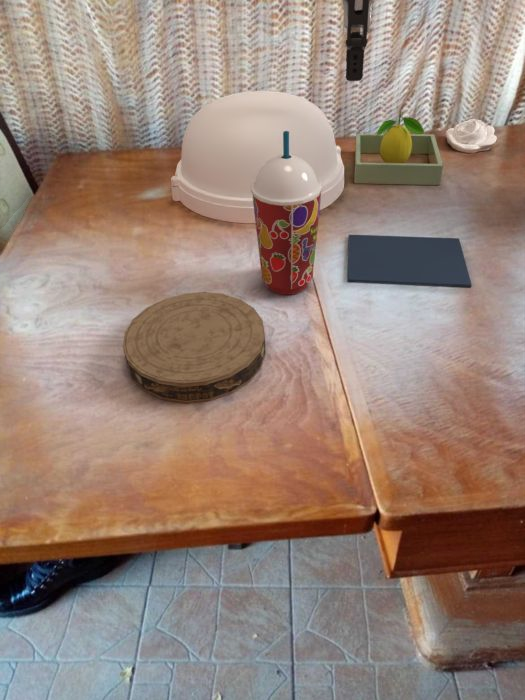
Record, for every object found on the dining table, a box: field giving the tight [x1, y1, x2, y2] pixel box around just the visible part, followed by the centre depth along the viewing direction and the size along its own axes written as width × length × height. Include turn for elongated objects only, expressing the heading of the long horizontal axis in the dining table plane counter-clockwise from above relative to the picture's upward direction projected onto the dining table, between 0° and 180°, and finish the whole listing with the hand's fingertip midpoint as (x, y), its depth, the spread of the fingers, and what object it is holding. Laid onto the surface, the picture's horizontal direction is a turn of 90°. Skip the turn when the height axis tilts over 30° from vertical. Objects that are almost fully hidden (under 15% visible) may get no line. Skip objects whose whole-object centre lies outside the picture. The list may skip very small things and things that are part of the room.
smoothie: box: [251, 131, 322, 295], centre depth 66 cm, size 8×8×20 cm
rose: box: [445, 118, 498, 154], centre depth 105 cm, size 10×4×10 cm
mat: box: [346, 234, 472, 288], centre depth 75 cm, size 16×12×1 cm
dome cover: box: [170, 90, 345, 224], centre depth 92 cm, size 32×30×14 cm
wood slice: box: [122, 291, 266, 404], centre depth 61 cm, size 16×16×3 cm
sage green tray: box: [353, 133, 444, 186], centre depth 98 cm, size 15×15×4 cm
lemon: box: [375, 110, 425, 163], centre depth 96 cm, size 7×6×10 cm
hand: (353, 71), depth 76 cm, fingers open, 8 cm apart
